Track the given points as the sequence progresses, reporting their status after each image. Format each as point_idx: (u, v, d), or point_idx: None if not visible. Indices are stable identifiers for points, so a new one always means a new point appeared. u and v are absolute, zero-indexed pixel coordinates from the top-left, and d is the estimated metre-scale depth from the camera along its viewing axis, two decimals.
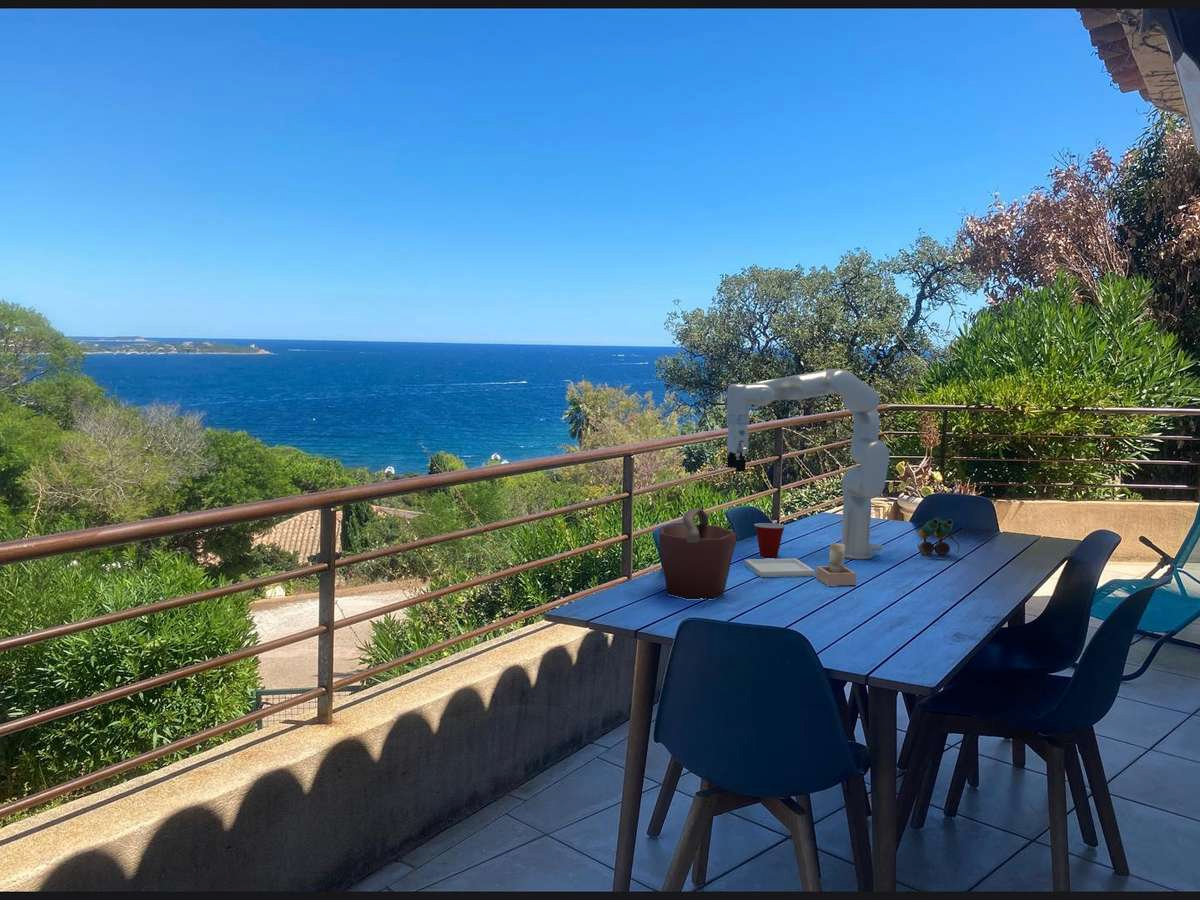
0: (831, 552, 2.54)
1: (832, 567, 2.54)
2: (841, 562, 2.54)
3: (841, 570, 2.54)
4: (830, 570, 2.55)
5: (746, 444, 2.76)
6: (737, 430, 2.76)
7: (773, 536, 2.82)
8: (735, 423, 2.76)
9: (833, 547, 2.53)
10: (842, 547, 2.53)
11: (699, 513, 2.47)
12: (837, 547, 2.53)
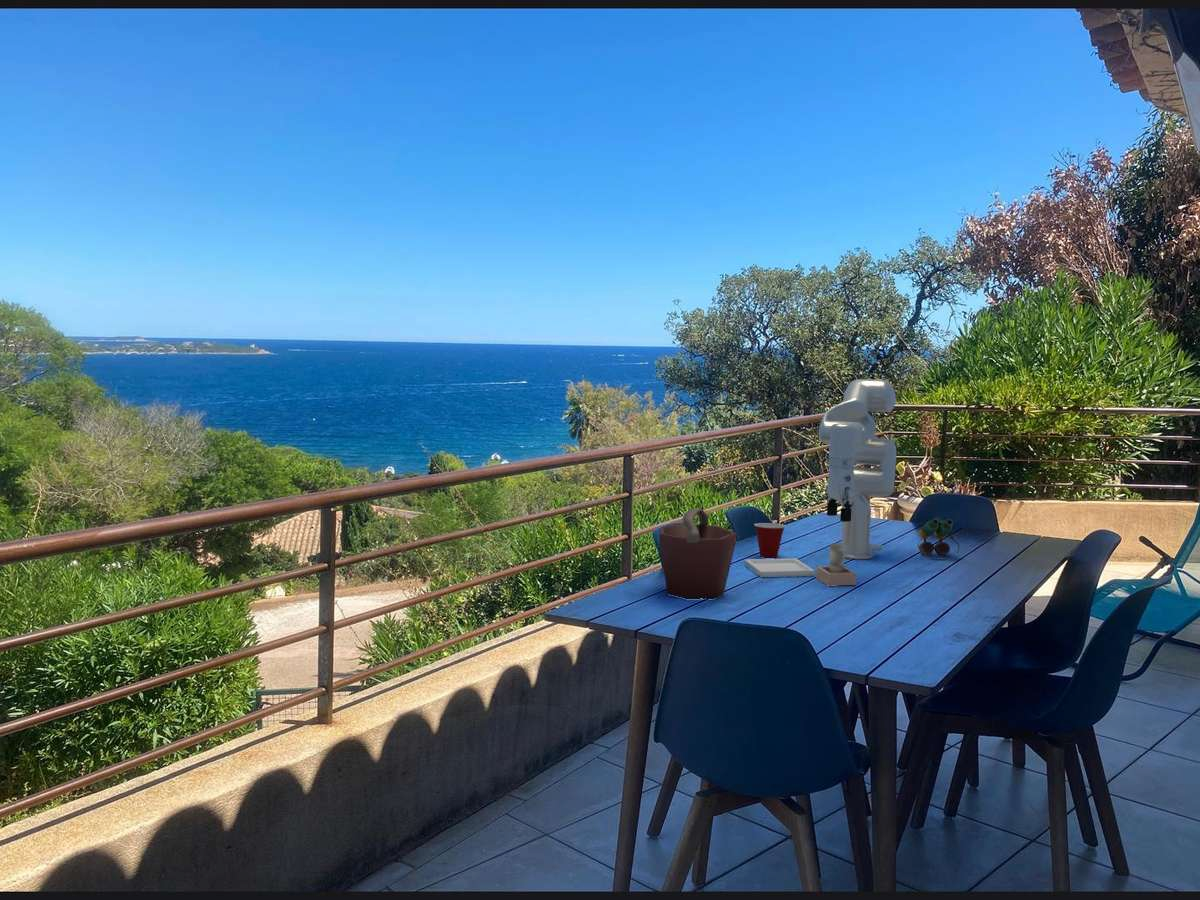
0: (831, 552, 2.54)
1: (832, 567, 2.54)
2: (841, 563, 2.54)
3: (841, 570, 2.54)
4: (830, 570, 2.55)
5: (852, 491, 2.48)
6: (842, 475, 2.48)
7: (773, 536, 2.82)
8: (840, 467, 2.49)
9: (833, 547, 2.53)
10: (842, 547, 2.53)
11: (699, 513, 2.47)
12: (837, 547, 2.53)
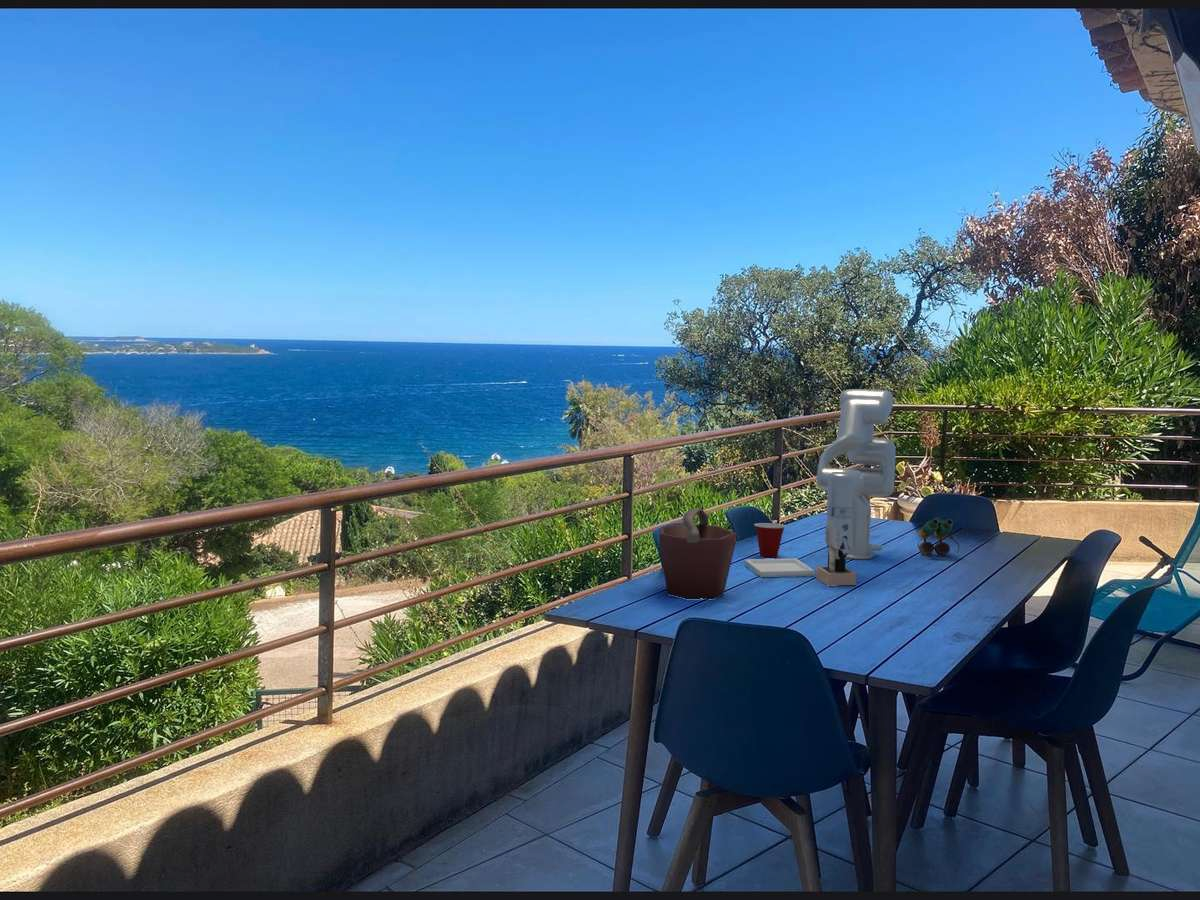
0: (831, 552, 2.54)
1: (832, 567, 2.54)
2: None
3: None
4: (830, 570, 2.55)
5: (850, 540, 2.50)
6: (840, 524, 2.49)
7: (773, 536, 2.82)
8: (837, 516, 2.50)
9: None
10: (842, 547, 2.53)
11: (699, 513, 2.47)
12: None
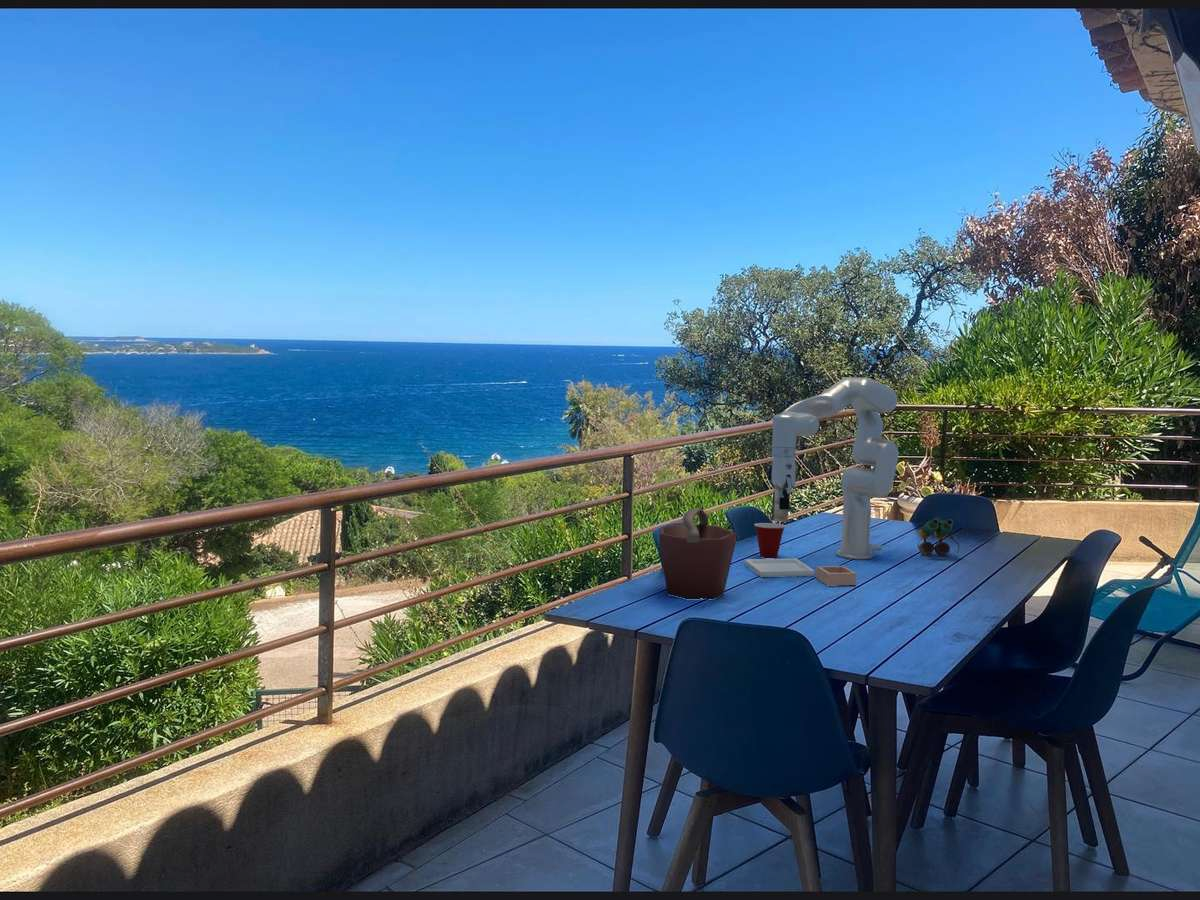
0: (776, 491, 2.65)
1: (776, 506, 2.65)
2: None
3: None
4: (775, 508, 2.66)
5: (793, 478, 2.61)
6: (784, 463, 2.60)
7: (773, 536, 2.82)
8: (781, 456, 2.61)
9: (777, 486, 2.64)
10: (786, 486, 2.64)
11: (699, 513, 2.47)
12: None
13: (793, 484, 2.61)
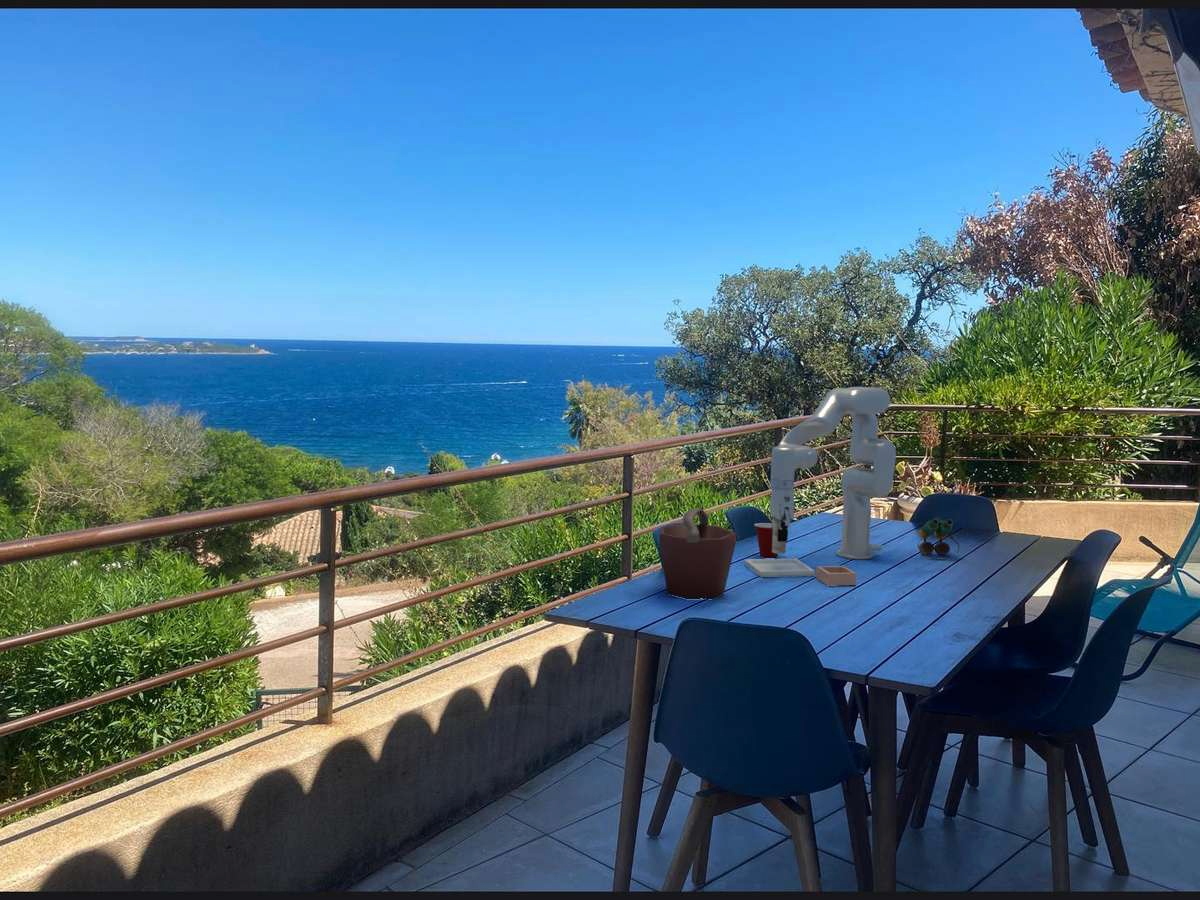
0: (774, 523, 2.66)
1: (775, 537, 2.66)
2: None
3: None
4: (773, 540, 2.67)
5: (791, 511, 2.62)
6: (782, 496, 2.62)
7: None
8: (780, 488, 2.62)
9: (776, 518, 2.66)
10: (784, 518, 2.65)
11: (699, 513, 2.47)
12: None
13: (791, 516, 2.62)
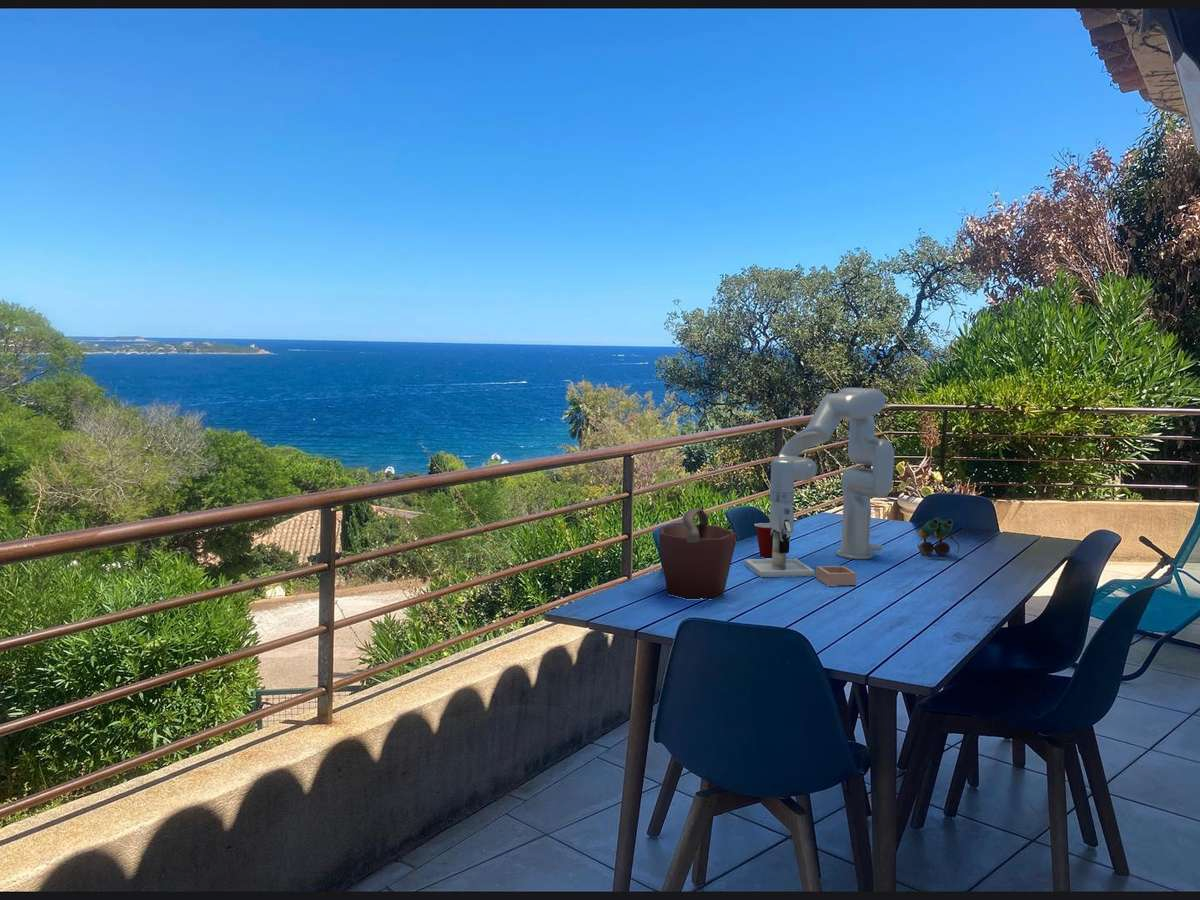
0: (774, 540, 2.67)
1: (774, 554, 2.67)
2: None
3: (783, 557, 2.67)
4: (773, 557, 2.68)
5: (791, 523, 2.63)
6: (782, 508, 2.62)
7: None
8: (779, 501, 2.63)
9: (775, 535, 2.66)
10: None
11: (699, 513, 2.47)
12: (779, 535, 2.65)
13: (791, 529, 2.63)
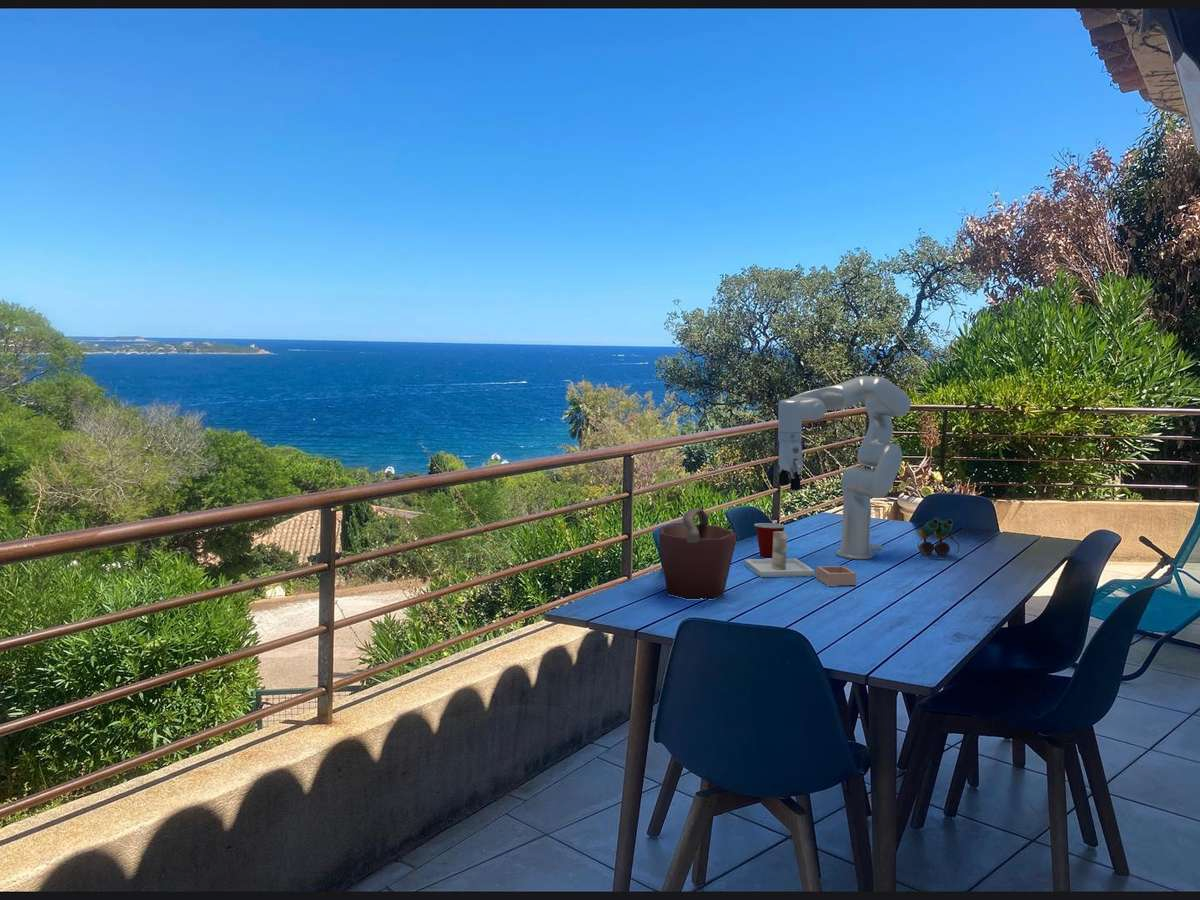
0: (774, 539, 2.67)
1: (775, 554, 2.67)
2: (784, 549, 2.66)
3: (783, 557, 2.67)
4: (773, 557, 2.68)
5: (800, 462, 2.67)
6: (791, 448, 2.67)
7: None
8: (788, 440, 2.68)
9: (776, 535, 2.66)
10: (784, 535, 2.66)
11: (699, 513, 2.47)
12: (779, 535, 2.66)
13: None
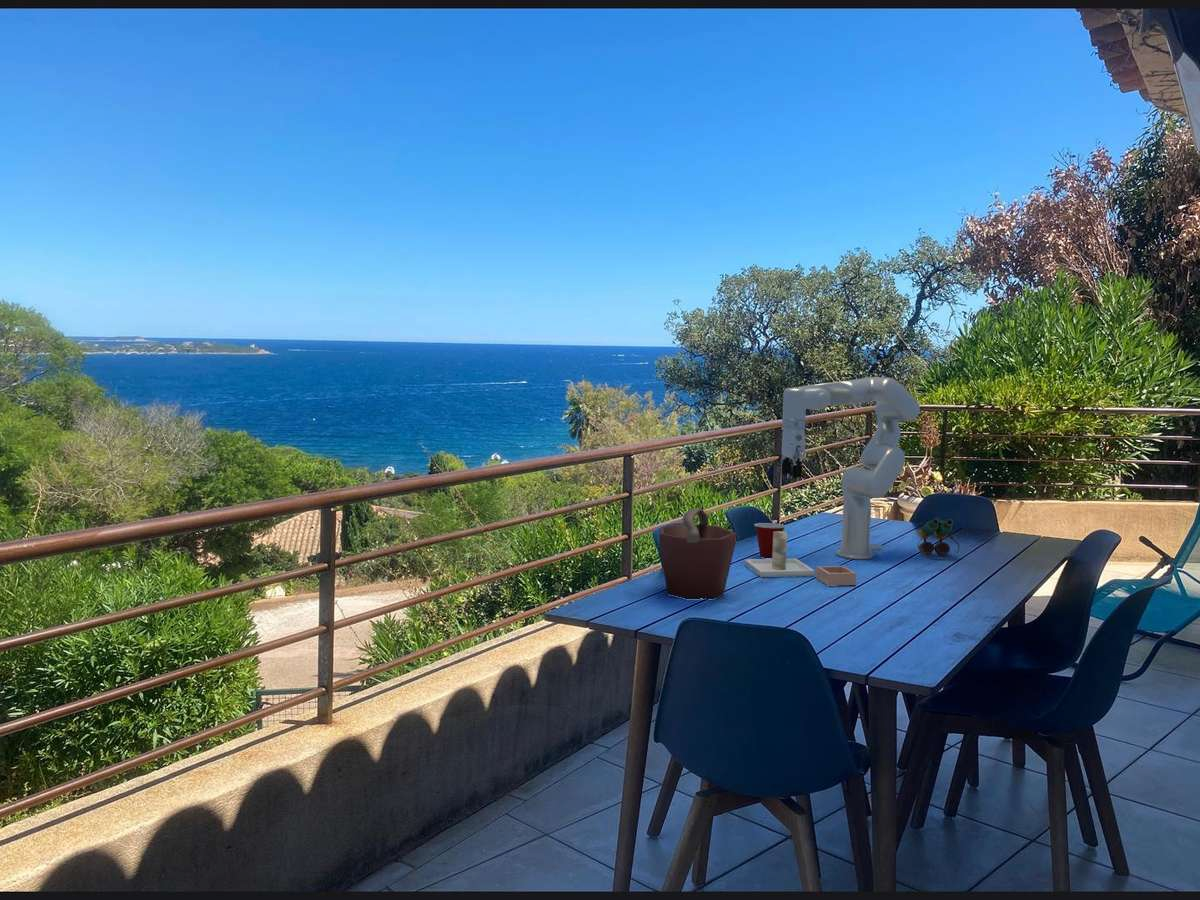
0: (774, 539, 2.67)
1: (775, 554, 2.67)
2: (784, 549, 2.66)
3: (783, 557, 2.67)
4: (773, 557, 2.68)
5: (803, 449, 2.71)
6: (794, 435, 2.70)
7: None
8: (792, 428, 2.71)
9: (776, 535, 2.66)
10: (784, 535, 2.66)
11: (699, 513, 2.47)
12: (779, 535, 2.66)
13: None
